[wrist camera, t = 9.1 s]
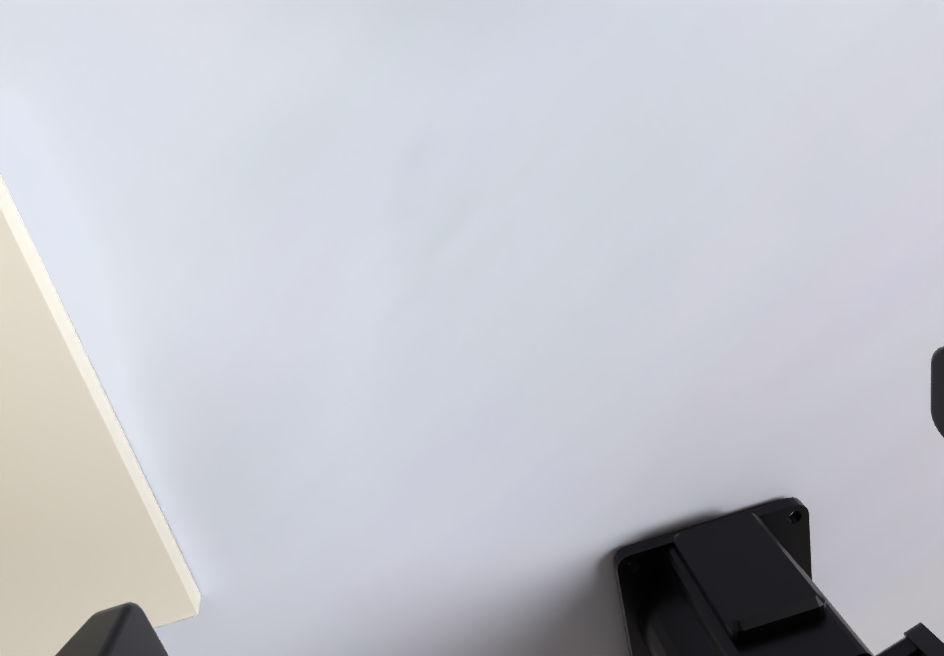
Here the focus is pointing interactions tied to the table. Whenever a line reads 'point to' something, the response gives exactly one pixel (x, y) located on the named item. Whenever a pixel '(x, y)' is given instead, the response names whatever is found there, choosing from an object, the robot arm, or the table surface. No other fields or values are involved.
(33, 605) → the building board
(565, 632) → the table surface
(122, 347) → the table surface
